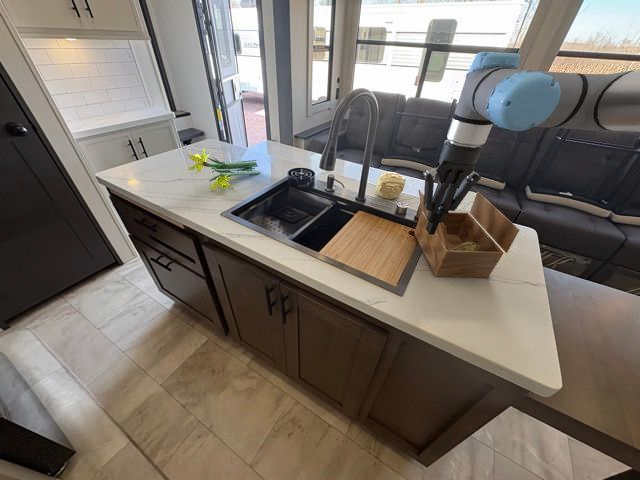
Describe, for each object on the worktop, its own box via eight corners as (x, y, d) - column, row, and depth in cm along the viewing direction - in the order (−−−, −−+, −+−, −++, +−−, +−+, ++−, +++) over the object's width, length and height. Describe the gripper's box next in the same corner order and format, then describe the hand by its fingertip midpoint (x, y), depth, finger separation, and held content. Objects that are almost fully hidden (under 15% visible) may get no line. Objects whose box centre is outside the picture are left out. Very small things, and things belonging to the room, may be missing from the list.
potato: (430, 253, 82) (438, 233, 77) (471, 258, 81) (482, 238, 76) (435, 270, 76) (444, 250, 71) (480, 277, 74) (492, 256, 70)
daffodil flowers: (271, 179, 125) (213, 186, 96) (251, 188, 133) (191, 197, 104) (259, 145, 123) (195, 142, 93) (240, 156, 130) (175, 157, 101)
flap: (446, 227, 64) (444, 227, 64) (448, 249, 69) (446, 249, 69) (419, 189, 80) (418, 189, 81) (422, 209, 85) (421, 209, 85)
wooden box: (491, 277, 75) (522, 229, 65) (435, 276, 75) (457, 228, 64) (460, 234, 92) (480, 191, 81) (414, 233, 91) (428, 190, 81)
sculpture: (376, 201, 110) (381, 177, 103) (373, 188, 119) (377, 166, 112) (403, 202, 109) (409, 179, 103) (397, 189, 119) (403, 167, 112)
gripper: (484, 138, 57) (447, 224, 72) (428, 135, 57) (402, 223, 71) (504, 149, 51) (459, 240, 66) (441, 146, 51) (410, 239, 65)
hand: (430, 231), depth 68 cm, fingers closed
